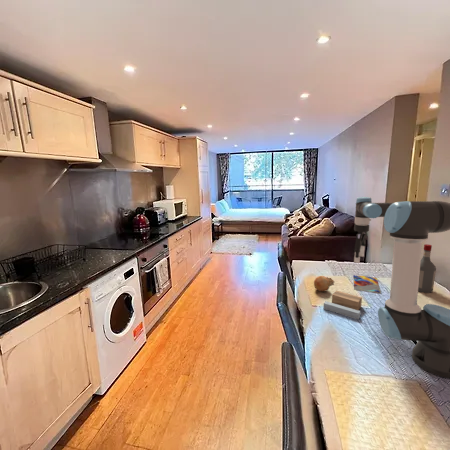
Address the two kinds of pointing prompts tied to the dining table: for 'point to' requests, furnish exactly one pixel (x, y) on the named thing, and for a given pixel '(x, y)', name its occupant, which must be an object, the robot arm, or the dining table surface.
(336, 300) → the block
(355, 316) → the grey rectangular bar
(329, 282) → the wooden fragment
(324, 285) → the onion
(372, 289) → the relief map
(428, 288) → the liquor
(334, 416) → the dining table surface
